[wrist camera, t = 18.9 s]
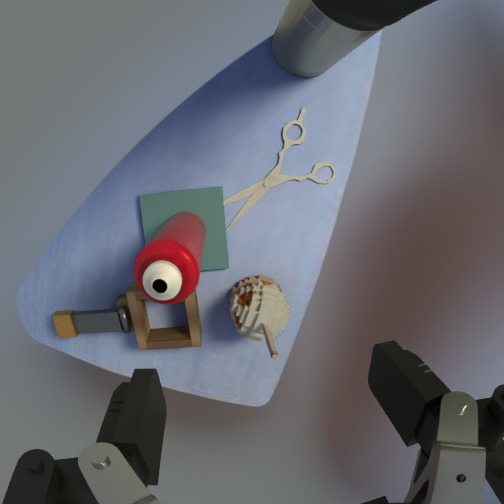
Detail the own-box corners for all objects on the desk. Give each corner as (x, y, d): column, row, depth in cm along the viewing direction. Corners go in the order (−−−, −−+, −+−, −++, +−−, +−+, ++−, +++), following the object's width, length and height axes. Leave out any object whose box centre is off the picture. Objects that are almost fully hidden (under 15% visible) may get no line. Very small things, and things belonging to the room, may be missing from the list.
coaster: (140, 195, 39) (139, 195, 39) (221, 186, 40) (222, 186, 40) (151, 273, 42) (150, 275, 42) (228, 266, 43) (228, 267, 43)
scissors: (347, 168, 42) (235, 256, 43) (345, 168, 42) (235, 254, 43) (304, 106, 39) (185, 195, 40) (302, 107, 39) (186, 194, 41)
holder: (117, 282, 42) (108, 293, 38) (193, 276, 43) (192, 286, 39) (129, 336, 44) (123, 350, 41) (201, 332, 46) (201, 346, 42)
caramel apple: (239, 267, 44) (252, 315, 29) (290, 283, 45) (323, 333, 31) (222, 315, 45) (227, 377, 31) (271, 328, 47) (293, 390, 32)
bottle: (189, 203, 40) (165, 233, 21) (213, 236, 41) (213, 294, 22) (157, 227, 40) (109, 277, 21) (181, 260, 42) (156, 332, 22)
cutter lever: (126, 306, 41) (123, 311, 39) (131, 328, 42) (129, 334, 40) (56, 310, 39) (51, 316, 37) (62, 332, 40) (58, 337, 38)
